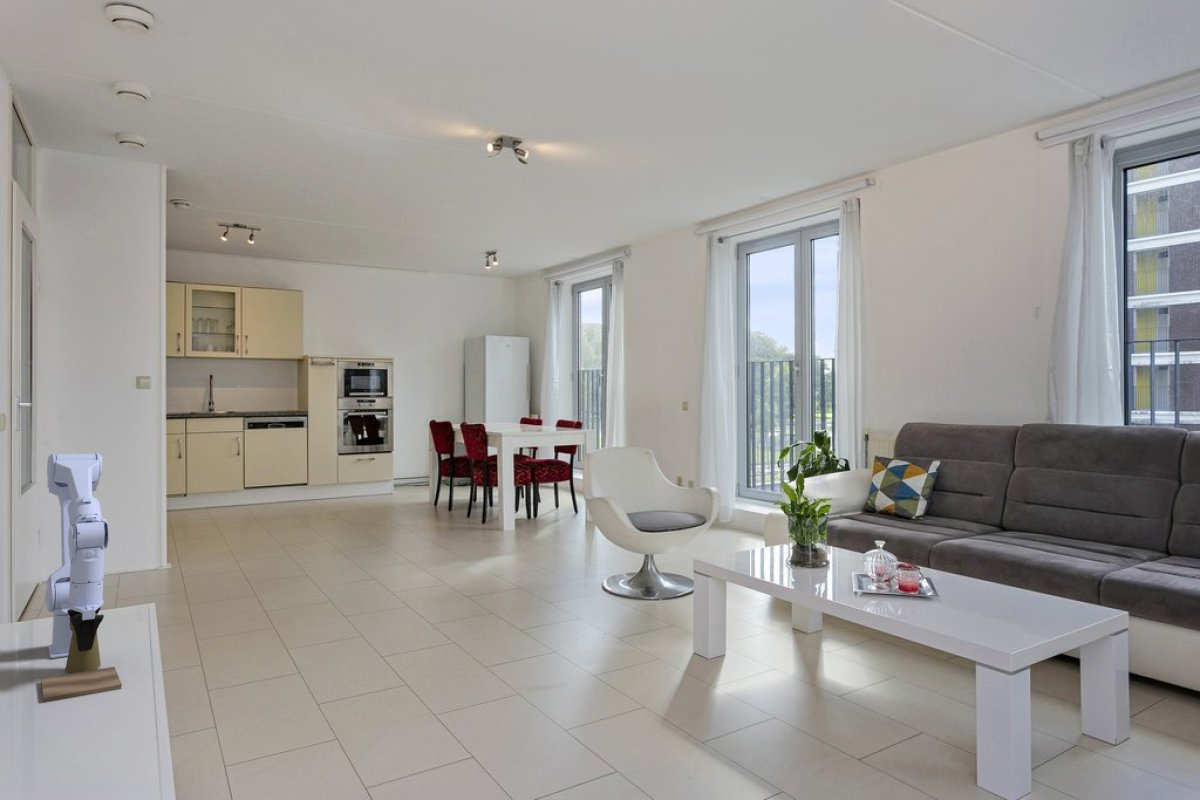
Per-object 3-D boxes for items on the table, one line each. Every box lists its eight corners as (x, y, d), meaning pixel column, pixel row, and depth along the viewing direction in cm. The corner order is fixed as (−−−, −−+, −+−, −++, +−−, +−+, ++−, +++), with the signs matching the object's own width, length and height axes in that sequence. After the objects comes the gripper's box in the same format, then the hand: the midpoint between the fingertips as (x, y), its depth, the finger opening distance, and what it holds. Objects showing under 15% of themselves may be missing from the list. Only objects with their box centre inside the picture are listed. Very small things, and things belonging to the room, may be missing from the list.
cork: (82, 674, 147) (85, 619, 148) (57, 671, 148) (59, 616, 149) (108, 663, 153) (110, 611, 153) (83, 661, 154) (85, 609, 155)
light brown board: (41, 682, 143) (41, 678, 143) (114, 670, 151) (114, 666, 151) (43, 702, 134) (43, 698, 134) (121, 688, 142) (121, 684, 142)
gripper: (60, 576, 154) (57, 640, 154) (65, 590, 143) (62, 660, 143) (101, 572, 159) (98, 635, 158) (108, 585, 147) (105, 653, 147)
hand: (84, 646), depth 151 cm, fingers closed on cork, 5 cm apart
